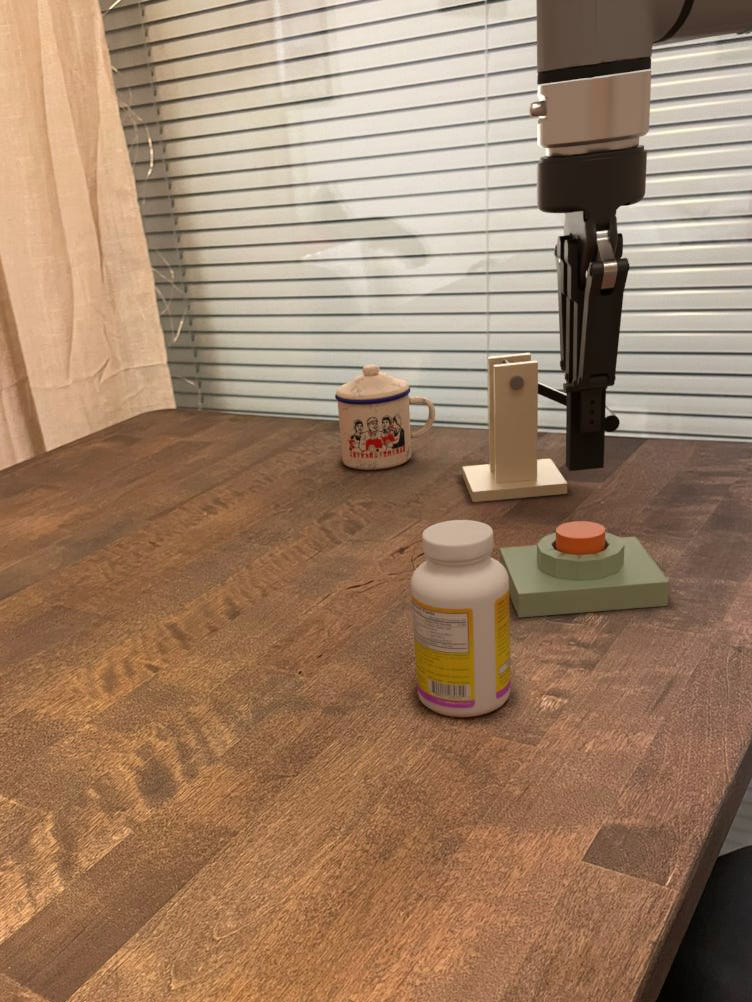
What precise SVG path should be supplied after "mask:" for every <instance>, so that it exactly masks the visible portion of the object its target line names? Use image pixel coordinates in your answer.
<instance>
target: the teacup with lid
mask: <svg viewBox="0 0 752 1002" xmlns="http://www.w3.org/2000/svg"><path fill="white" fill-rule="evenodd" d="M410 393H411V387H410V384H409V383H408V382H407V381H406V380H404V379H401V378H397V377H393V376H391V375H390V374H388V373H386V372H381V371H380V366H379V365H378V364H367V365H364V366H363V368H362V373H361V374H359V375H357V376H355V377H354V378H353V379H352V380H350V381H349V382H346V383H343V384H342V385H340V386H339V387H338V388H337V389H336V391H335V395H334V398H335V400H336V401H337V412H338V422H339V423H338V425H339V436H340V448H341V449H340V450H341V459H342V460H341V461H342V463H343V464H344V466H346V467H348V468H351V469H355V470H361V471H376V470H377V471H378V470H385V469H390V468H391V469H392V468H395V467H398V466H401V465H403V464H405V463H407V462H408V461H409V460H410V459H411V458H412V439H416V438H420V437H422V436H424V435H426V434H427V433H428V432H429V431H430V429H431V428H432V427H433V424H434V423H435V419H436V408H435V405H434V403H433V402H432V401H431V400H430V399H428V397H425V396H423V395H422V396H420V395H416V396H415V395H414V396H410V395H409V394H410ZM412 404H423V405H425V406H427V407H428V417H427V420H426V421H425V424H423V426H422V427H421V428H419V429H416V430H412V431H411V417H410V416H411V415H410V405H412Z"/></svg>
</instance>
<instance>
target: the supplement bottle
mask: <svg viewBox="0 0 752 1002" xmlns="http://www.w3.org/2000/svg"><path fill="white" fill-rule="evenodd" d="M421 535H422V536H421V537H422V539H421V540H422V548H421V549H422V553H423V554H424V556H425V558H426V560H425V561H423V562H422V563H420V564H419V565H418V566H417V568H416V569H414V572H413V573H412V576H411V579H410V596H411V597H410V598H411V611H412V626H413V627H412V628H413V629H412V630H413V644H414V645H413V646H414V660H415V675H416V677H415V678H416V689H417V695H418V698H419V700H420V702H421V703H422V704H423V705H424V706H425V707H427V708H428V709H430V710H431V711H433V712H435V713H437V714H440V715H443V716H447V717H455V718H470V717H471V718H472V717H478V716H482V715H486V714H489V713H492V712H494V711H495V710H498V709H499V708H501V707H502V706H503V705H504V704H505V703H506V702H507V701H508V699H509V696H510V694H511V633H510V631H511V627H510V620H511V619H510V594H509V577H508V573H507V571H506V569H505V567H504V566H503V565H502V564H501V563H500V561H498V560H496V559H495V558H493V557H492V556H491V554H492V552H493V549H494V546H495V543H494V542H495V540H494V530H493V528H492V527H491V525H489V524H487V523H484V522H482V521H477V520H470V519H454V520H453V519H452V520H446V521H440V522H438V523H434V524H432V525H430V526H428V527H426V528H425V529H424V530H423V532H422V534H421Z"/></svg>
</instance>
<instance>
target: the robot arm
mask: <svg viewBox="0 0 752 1002" xmlns="http://www.w3.org/2000/svg"><path fill="white" fill-rule="evenodd" d="M751 33H752V0H536V73H537V76H536V77H537V79H536V81H537V82H536V85H537V98H538V100H537V101H534V102H531V103H530V105H529V106H528V115H529V116H530V117H531V118H538V120H537V146H539V147H540V148H541V149H545V155H544V156H541V157H539V161H538V162H536V207H537V209H538V210H539V211H540V212H543V213H546V214H564V223H563V235H558V236H557V239H556V244H555V245H554V248H553V255H554V258H555V259H554V260H555V267H556V276H557V277H556V278H557V298H558V299H557V300H558V303H557V304H558V305H557V306H558V324H559V325H558V328H559V329H558V330H559V350H560V360H559V367H560V371H562V372H565V373H564V380H565V382H564V383H562V389H563V393H565V394H567V406H565V407H566V408H565V409H566V410H565V411H566V413H565V416H566V417H565V418H566V420H565V421H566V422H565V467H566V469H567V470H568V471H569V472H575V471H585V470H595V469H603V468H605V439H606V437H605V436H606V431H605V408H606V406H607V389H608V387H613V386H614V385H615V383H616V379H617V377H616V371H617V362H618V352H619V344H620V343H619V342H620V334H621V333H620V332H621V323H622V312H623V305H624V304H623V302H624V293H625V288H626V285H627V284H626V283H627V280H628V275H629V271H630V269H631V268H630V267H631V266H630V263H629V259H628V258H627V257H624V258H623V253H624V236H623V233H622V232H619V233H618V218H617V216H616V215H617V211H618V209H619V208H620V207H628V206H631V205H635V204H637V203H639V202H641V201H642V200H643V199H644V197H645V195H646V188H647V187H646V185H647V165H648V164H647V163H648V149H645V146H644V144H640V138H641V137H645V136H646V135H647V134H648V133H649V132H650V118H651V117H650V115H651V87H652V70H651V69H652V58H651V57H652V53H653V47H657V46H666V45H671V44H676V43H683V42H688V41H695V40H700V39H705V38H713V37H719V36H720V37H721V36H725V35H733V34H736V35H738V36H740V35H744V34H745V35H749V34H751Z"/></svg>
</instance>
